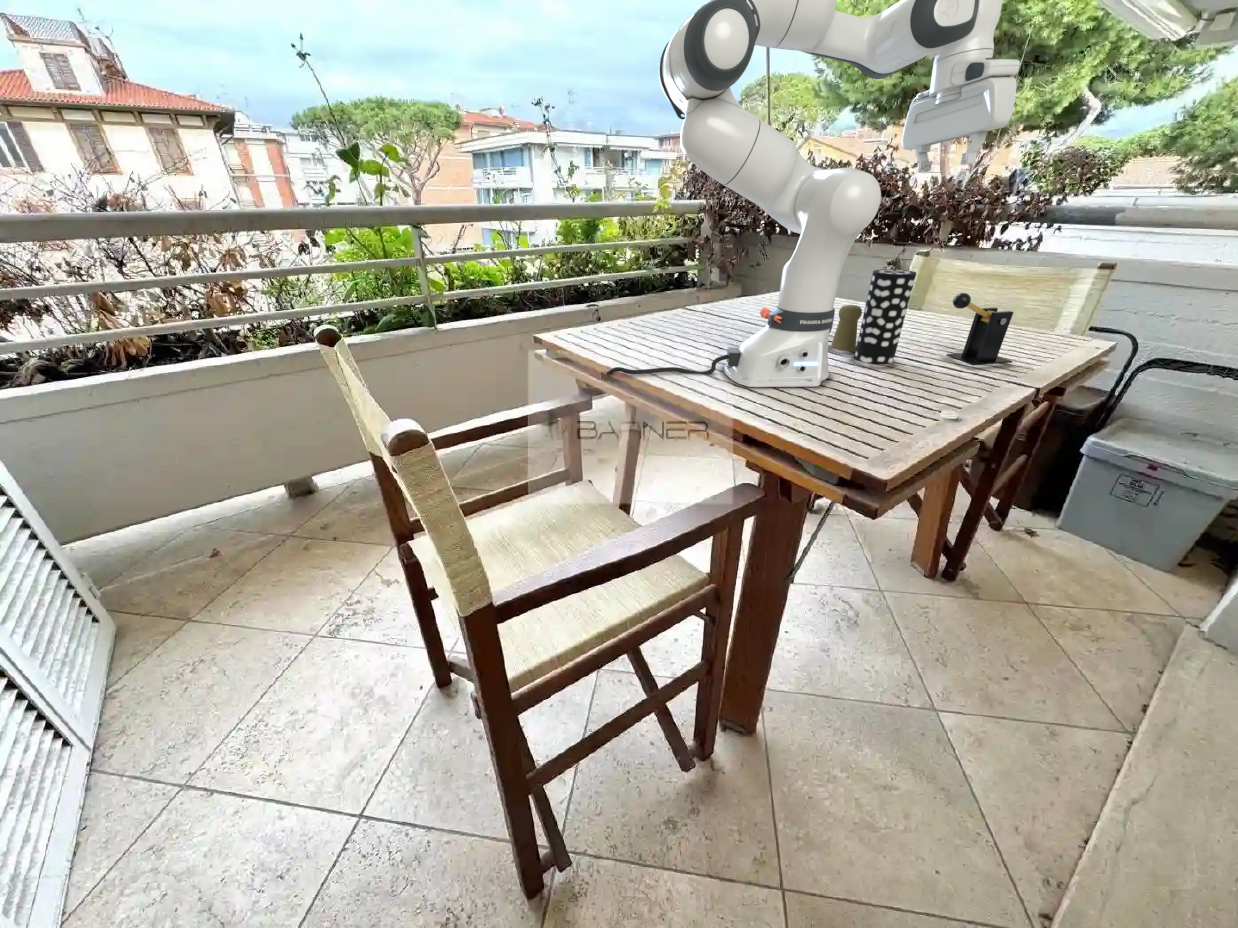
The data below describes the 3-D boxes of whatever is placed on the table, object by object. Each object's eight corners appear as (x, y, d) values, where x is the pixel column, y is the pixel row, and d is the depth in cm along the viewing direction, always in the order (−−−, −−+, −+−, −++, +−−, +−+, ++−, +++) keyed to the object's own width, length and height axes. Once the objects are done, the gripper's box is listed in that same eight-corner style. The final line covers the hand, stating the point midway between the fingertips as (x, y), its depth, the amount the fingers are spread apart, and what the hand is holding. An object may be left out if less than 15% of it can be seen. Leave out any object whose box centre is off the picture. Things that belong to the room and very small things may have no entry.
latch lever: (957, 306, 102) (967, 292, 101) (946, 303, 105) (956, 289, 104) (997, 329, 107) (1007, 315, 105) (985, 326, 109) (995, 312, 108)
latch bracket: (971, 369, 108) (989, 315, 102) (944, 359, 115) (960, 307, 109) (1010, 366, 109) (1031, 312, 103) (982, 356, 116) (1000, 305, 110)
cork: (860, 352, 120) (870, 307, 115) (838, 354, 120) (847, 308, 114) (846, 346, 126) (855, 302, 120) (825, 348, 125) (833, 304, 119)
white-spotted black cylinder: (884, 357, 116) (906, 269, 107) (898, 368, 109) (923, 274, 99) (848, 357, 117) (867, 269, 108) (860, 368, 110) (881, 275, 100)
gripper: (898, 96, 95) (889, 177, 101) (1000, 58, 77) (981, 160, 82) (925, 95, 96) (914, 175, 102) (1030, 58, 78) (1010, 157, 84)
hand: (944, 168), depth 92 cm, fingers open, 8 cm apart
